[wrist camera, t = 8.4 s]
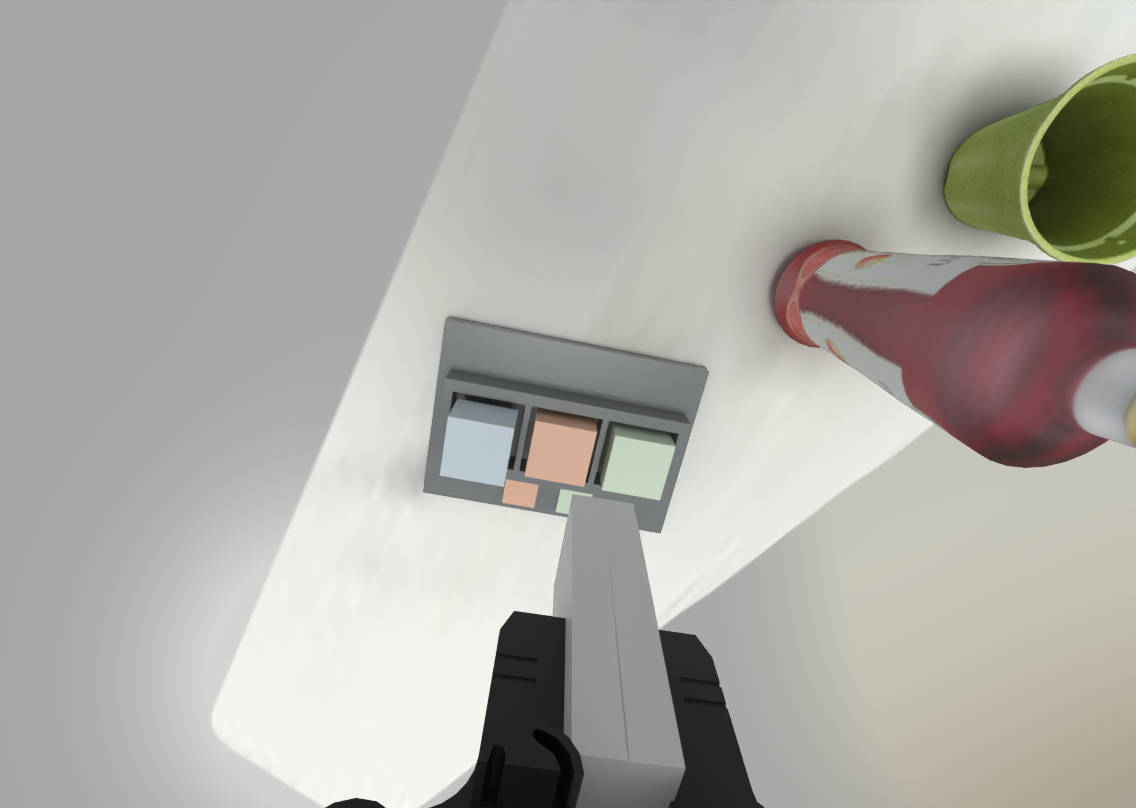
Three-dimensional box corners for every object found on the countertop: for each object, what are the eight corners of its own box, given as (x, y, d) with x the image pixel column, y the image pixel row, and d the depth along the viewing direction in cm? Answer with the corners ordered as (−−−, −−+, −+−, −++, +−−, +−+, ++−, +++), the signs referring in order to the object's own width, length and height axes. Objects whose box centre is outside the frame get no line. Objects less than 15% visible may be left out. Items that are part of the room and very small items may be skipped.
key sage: (611, 417, 38) (615, 435, 35) (666, 428, 39) (675, 446, 36) (599, 468, 40) (601, 490, 37) (652, 478, 40) (659, 500, 37)
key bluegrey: (457, 398, 36) (447, 416, 33) (518, 410, 36) (514, 428, 33) (449, 453, 37) (439, 475, 34) (508, 464, 37) (503, 486, 34)
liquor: (749, 333, 38) (1182, 627, 11) (786, 223, 35) (1447, 270, 9) (849, 356, 38) (1483, 686, 12) (893, 249, 36) (1807, 366, 9)
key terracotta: (537, 403, 38) (535, 420, 35) (594, 414, 38) (597, 432, 35) (527, 455, 39) (524, 476, 36) (582, 465, 40) (584, 486, 37)
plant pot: (884, 179, 34) (984, 170, 26) (1017, 52, 32) (1171, -1, 24) (967, 283, 37) (1083, 305, 28) (1097, 171, 34) (1263, 160, 26)
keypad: (448, 316, 37) (438, 325, 34) (705, 367, 38) (716, 380, 36) (426, 485, 41) (416, 506, 39) (658, 526, 43) (665, 548, 40)
